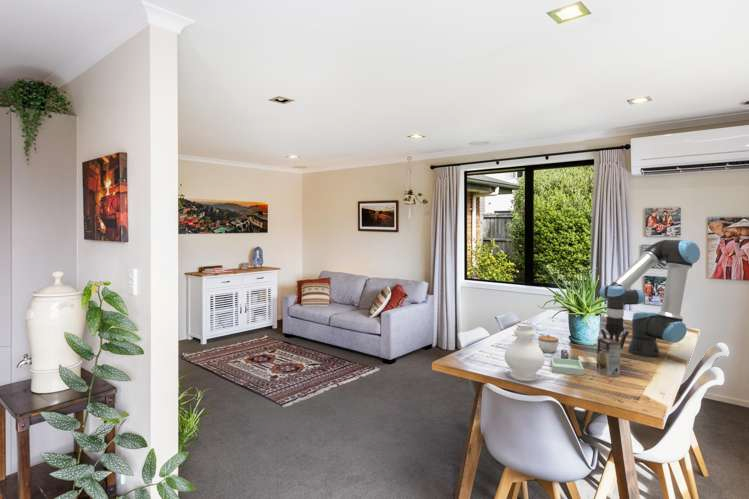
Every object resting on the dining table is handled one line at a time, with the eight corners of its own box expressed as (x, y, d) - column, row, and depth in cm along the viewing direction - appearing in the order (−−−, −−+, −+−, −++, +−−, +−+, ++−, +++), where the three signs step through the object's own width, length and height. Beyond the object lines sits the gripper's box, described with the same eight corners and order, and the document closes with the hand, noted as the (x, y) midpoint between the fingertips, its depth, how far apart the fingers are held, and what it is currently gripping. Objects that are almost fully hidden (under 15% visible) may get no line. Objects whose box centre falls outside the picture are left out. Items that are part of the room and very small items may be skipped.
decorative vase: (506, 368, 218) (507, 318, 217) (544, 373, 211) (545, 322, 210) (502, 380, 201) (503, 326, 200) (543, 385, 195) (544, 330, 193)
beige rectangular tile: (594, 362, 231) (594, 357, 230) (597, 367, 221) (597, 363, 221) (577, 360, 233) (577, 356, 233) (580, 366, 223) (580, 361, 223)
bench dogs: (566, 359, 234) (566, 349, 234) (568, 364, 226) (568, 354, 225) (560, 358, 235) (560, 349, 235) (562, 363, 226) (562, 353, 226)
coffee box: (596, 370, 216) (597, 338, 215) (608, 370, 216) (609, 337, 216) (607, 376, 207) (608, 343, 206) (620, 376, 207) (621, 342, 206)
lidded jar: (559, 354, 242) (560, 337, 242) (539, 353, 244) (540, 336, 244) (555, 349, 253) (556, 333, 252) (536, 348, 255) (536, 332, 254)
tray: (579, 366, 222) (579, 360, 222) (583, 375, 208) (584, 369, 208) (550, 363, 226) (550, 357, 226) (553, 372, 212) (553, 366, 212)
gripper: (627, 316, 224) (625, 361, 225) (599, 314, 228) (597, 359, 229) (631, 319, 216) (629, 365, 218) (602, 317, 220) (600, 363, 222)
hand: (613, 362), depth 223 cm, fingers closed
